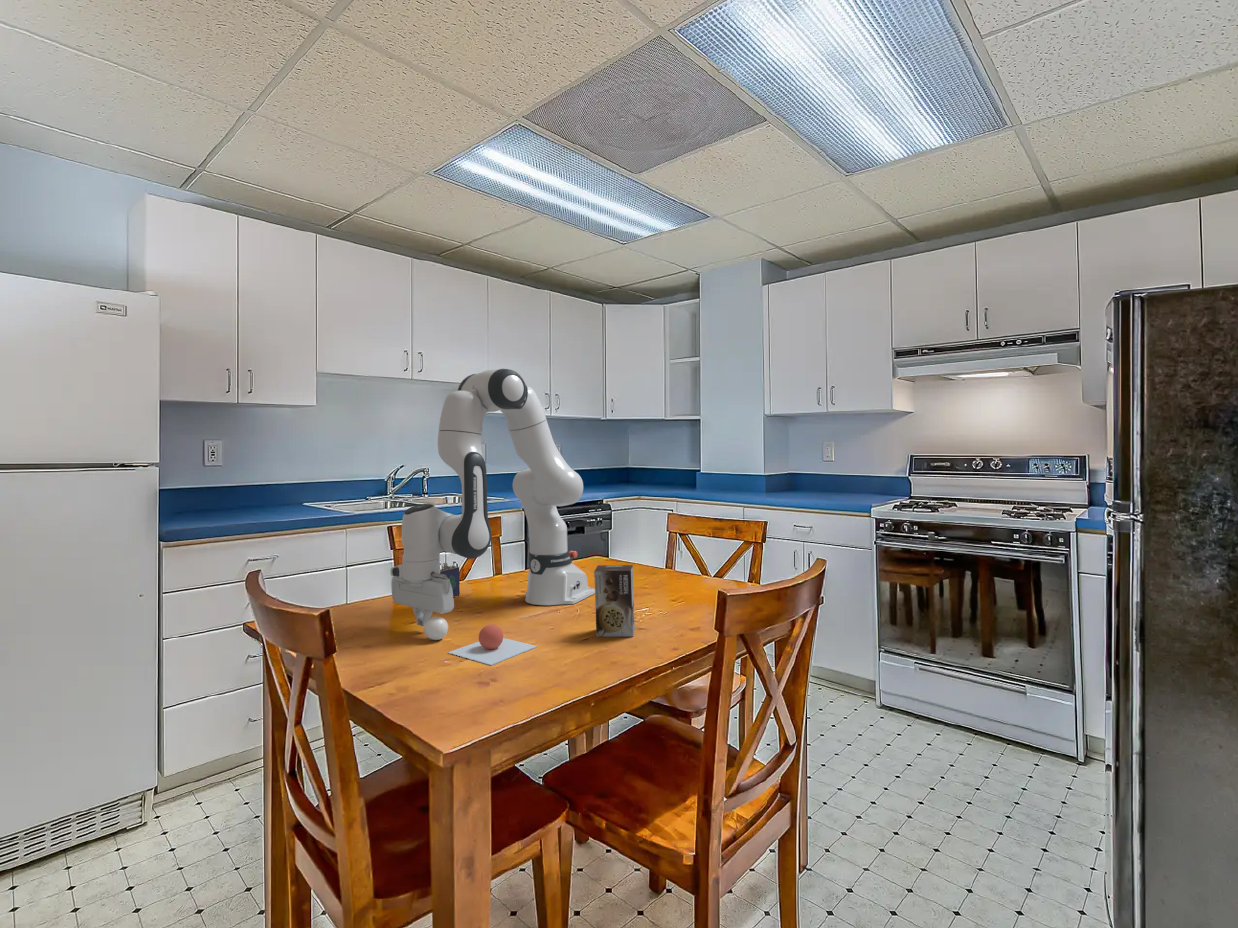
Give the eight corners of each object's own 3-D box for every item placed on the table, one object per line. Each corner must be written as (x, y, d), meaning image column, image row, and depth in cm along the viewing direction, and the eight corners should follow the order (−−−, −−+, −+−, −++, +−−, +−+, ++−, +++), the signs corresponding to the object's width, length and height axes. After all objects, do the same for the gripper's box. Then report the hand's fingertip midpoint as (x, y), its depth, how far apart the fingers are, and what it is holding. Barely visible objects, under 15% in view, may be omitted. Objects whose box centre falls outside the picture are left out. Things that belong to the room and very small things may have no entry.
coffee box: (635, 629, 156) (634, 564, 155) (633, 637, 149) (632, 569, 149) (598, 628, 157) (597, 564, 156) (595, 636, 150) (593, 569, 150)
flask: (438, 602, 185) (436, 566, 185) (431, 601, 187) (430, 565, 187) (462, 595, 193) (461, 560, 193) (455, 594, 195) (454, 559, 194)
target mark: (494, 636, 152) (494, 635, 152) (537, 646, 144) (537, 645, 144) (447, 653, 141) (447, 652, 141) (491, 665, 132) (491, 664, 132)
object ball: (512, 637, 143) (499, 649, 146) (499, 617, 145) (487, 629, 147) (494, 644, 139) (481, 657, 141) (482, 623, 140) (469, 636, 143)
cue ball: (451, 620, 149) (454, 635, 152) (437, 607, 152) (440, 622, 155) (431, 634, 146) (434, 648, 149) (417, 621, 148) (421, 635, 152)
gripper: (459, 572, 153) (461, 628, 153) (407, 563, 165) (409, 616, 165) (438, 577, 148) (440, 635, 148) (386, 568, 160) (388, 622, 160)
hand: (423, 625), depth 157 cm, fingers closed
